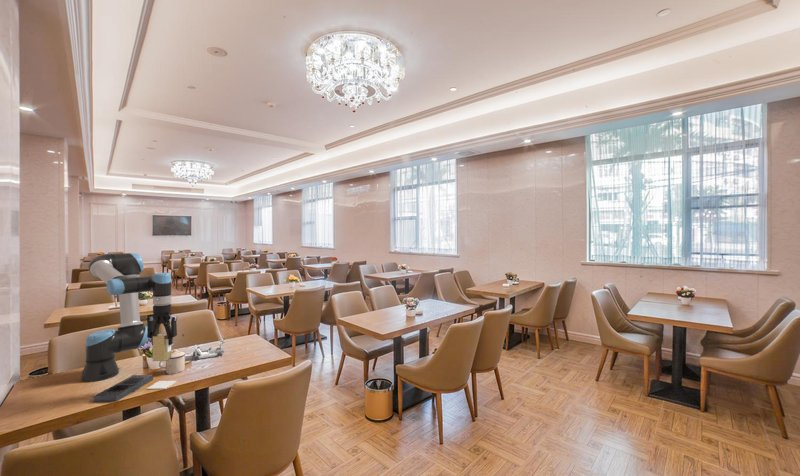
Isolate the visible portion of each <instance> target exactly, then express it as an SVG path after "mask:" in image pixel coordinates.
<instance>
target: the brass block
mask: <svg viewBox="0 0 800 476" xmlns="http://www.w3.org/2000/svg"><path fill="white" fill-rule="evenodd" d="M167 338H168V337H167V333H166V332H165V333H158V334H157V335H155V336H153V345H152V362H160V361H163V362H166V360H167V359H169V358H171V352H172V350H171V351H169V352H166V339H167Z"/></svg>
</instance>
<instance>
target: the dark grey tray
mask: <svg viewBox="0 0 800 476" xmlns="http://www.w3.org/2000/svg"><path fill="white" fill-rule="evenodd" d="M153 380H154V375H153V374H139V375H138V374H137V375H135V374H133V375H131V376H129V377H128V378H125V379H123V380H121V381H120V382H118V383H116V384H114V385H112V386H110V387H108V388H106V389H105V390H102V391H101V392H99V393H97V394H95V395H93V397H92V398H93V402H94V403H105V402H106V403H108V402H109V403H110V402H112V403H113V402H118V401H120V400H121V399H123V398H126V397H127V396H128V395H130V394H132V393H133V392H135V391H137V390H138V389H140V388H142V387H143V386H145V385H147V384H148V383H150V382H152V381H153Z"/></svg>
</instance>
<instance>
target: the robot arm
mask: <svg viewBox="0 0 800 476" xmlns="http://www.w3.org/2000/svg"><path fill="white" fill-rule="evenodd" d="M87 267H88V268H87V269H88V272H89V274H91V275H92V276H94V277H95V278H99V279H100V280H101V281H102V282H103V283H105V284H106V288H105V289H106V291H107V294H108V295H109V296H115V295H116V296H118V302H119V315H120V324H119V325H118V326H117V330H115V329H114V328H107V329H102V330H97V331H95V332H90V334H88V335H87V336H86V338H85V345H84V346H85V364H84V367H83V370H82V373H81V375H80V381H81V382H98V381H103V380H107V379H110V378H113V377H115V376H117V375H118V374H119V373H120V368H119V367H118V363H117V361H116V358H115V354H116V353H117V354H118V353H122V352H127V351H131V350H137V349H140V348H142V347H141V346H142V345H143V344H145V343H146V342H147V343H148V341H149V339H151V345H152V346H153V336H155V335H158V334H159V331H160V327H161V325H163V328H164V329H165V333H167V337H168V338H167V339H166V352H169V351H171V352H172V345H173V344H174V340H173V339H174V338H175V337H177V336H178V329H177V328H178V326H177V325H178V323H177V320H178V316H177V315H176V316H174V315H172V304H171V303H172V281H173V280H172V274H171V273H170V272H156V273H153V275H147V276H141V275H140V274H141V273H143V272H144V268H145V267H144V261H143V259H142V257H141V255H140V254H138V253H133V252H132V253H131V252H127V253H125V252H123V253H105V254H101V255H98V256H95V257H94V258H92V260H91V261H90V262H89V263H88V266H87ZM145 292H152V305H153V306H152V313H153V315H152V316H148V317H146V321H147V325H145V324H144V322H143V321H141V315H140V303H139V302H140V301H139V293H145ZM147 337H148V338H147ZM147 343H146V344H147Z"/></svg>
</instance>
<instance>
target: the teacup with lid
mask: <svg viewBox="0 0 800 476" xmlns="http://www.w3.org/2000/svg"><path fill="white" fill-rule="evenodd" d="M185 356H186V353H185V352H184V351H179V350H178V349H176V348H175V349H173V351H171V358H169V359H167V360H166V361H165V366H161V363H164V361H158V367H159V368H160V369H161V370H165V373H166V374H169V375H173V374H174V375H175V374H179V373H182V372H184V370H185V367H186V366H185V365H186V364H185V363H186V361H185V360H186V359H185Z"/></svg>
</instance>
